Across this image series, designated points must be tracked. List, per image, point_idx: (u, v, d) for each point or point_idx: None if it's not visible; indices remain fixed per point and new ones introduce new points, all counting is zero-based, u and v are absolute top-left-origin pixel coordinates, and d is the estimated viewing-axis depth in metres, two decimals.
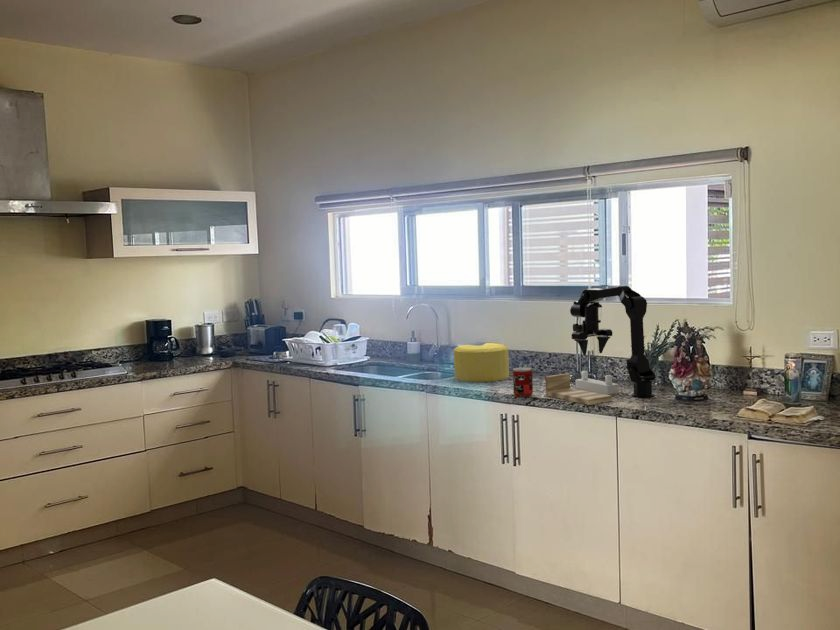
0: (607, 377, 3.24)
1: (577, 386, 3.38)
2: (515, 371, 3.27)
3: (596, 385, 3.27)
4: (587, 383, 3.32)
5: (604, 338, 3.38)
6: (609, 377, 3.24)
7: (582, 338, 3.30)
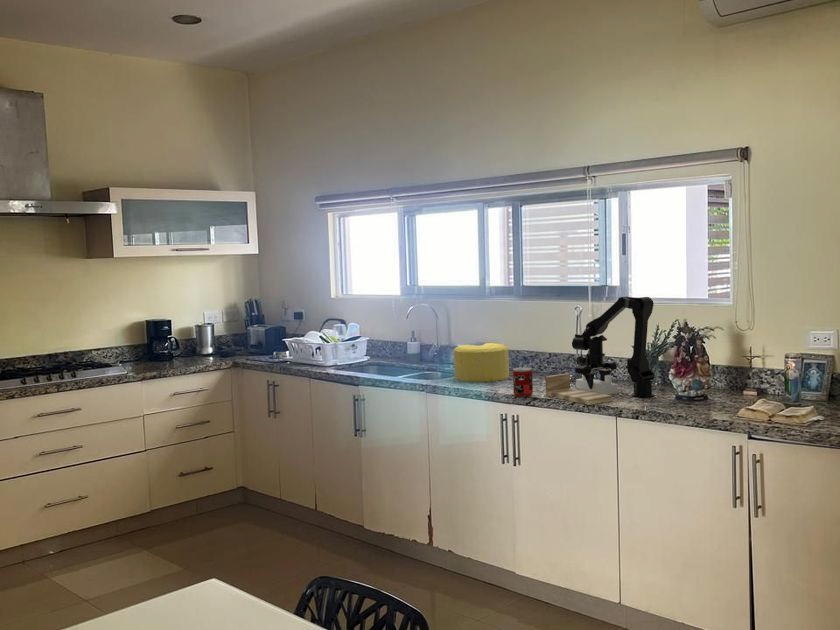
0: (606, 377, 3.24)
1: (577, 386, 3.38)
2: (515, 371, 3.27)
3: (596, 385, 3.27)
4: (587, 383, 3.32)
5: (606, 372, 3.32)
6: (608, 377, 3.24)
7: (586, 372, 3.24)
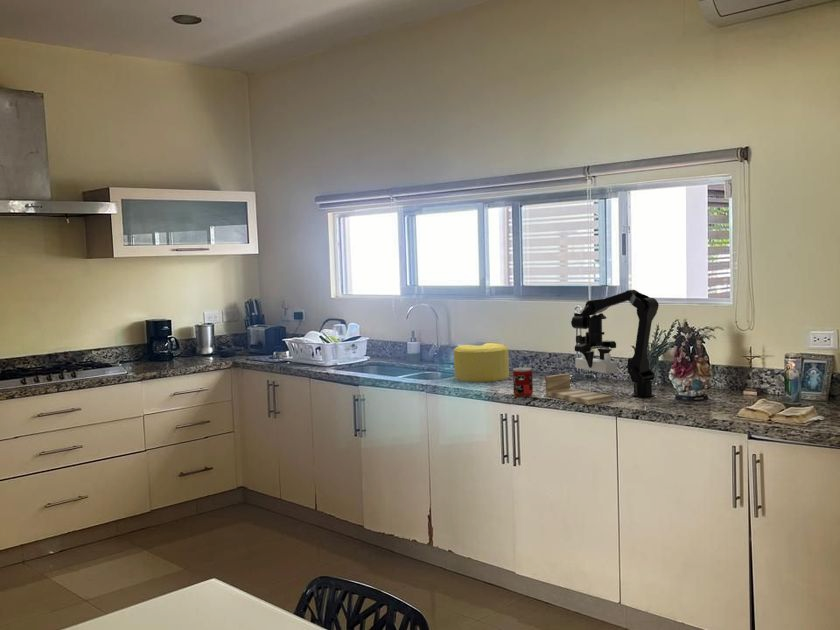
0: (606, 355, 3.23)
1: (577, 365, 3.38)
2: (515, 371, 3.27)
3: (595, 363, 3.27)
4: (586, 361, 3.32)
5: (605, 350, 3.31)
6: (608, 355, 3.23)
7: (585, 350, 3.24)
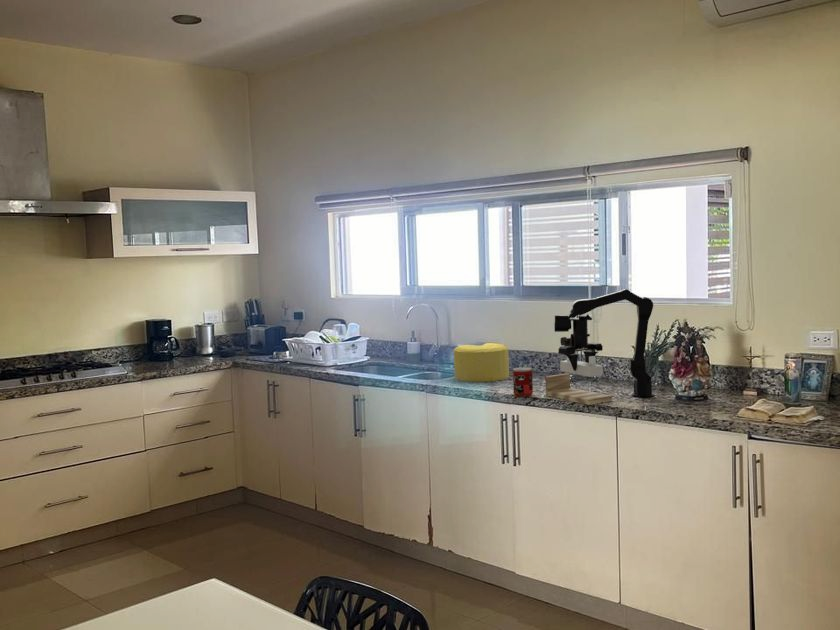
0: (590, 358, 3.10)
1: (562, 368, 3.25)
2: (515, 371, 3.27)
3: (579, 366, 3.14)
4: None
5: (591, 353, 3.18)
6: (592, 358, 3.10)
7: (569, 353, 3.11)
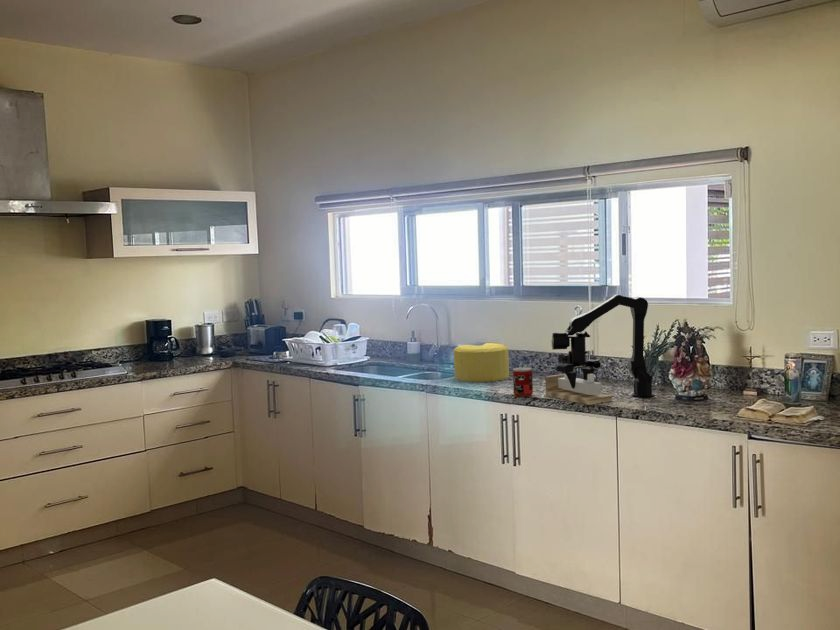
0: (589, 376, 3.08)
1: (559, 385, 3.23)
2: (515, 371, 3.27)
3: (578, 384, 3.12)
4: (569, 382, 3.17)
5: (589, 370, 3.16)
6: (591, 376, 3.08)
7: (568, 371, 3.09)
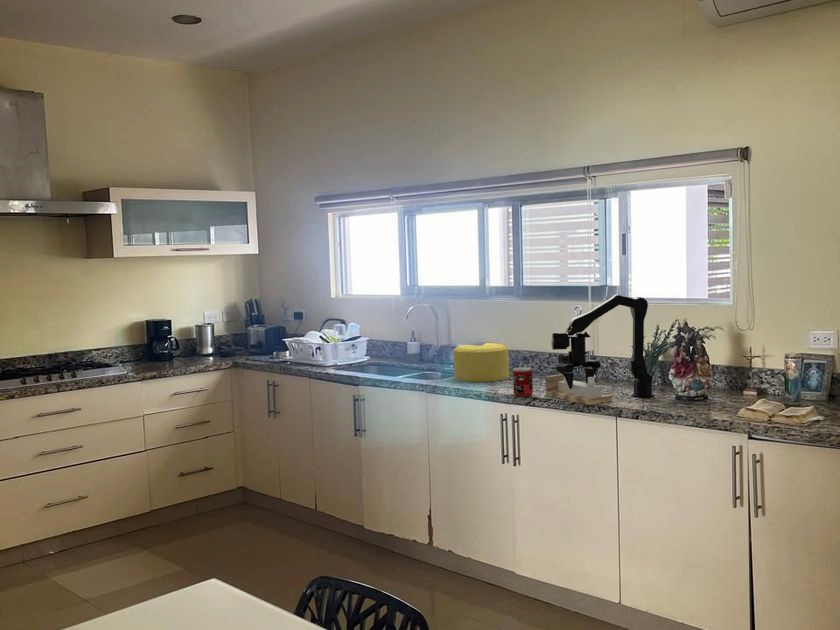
0: (589, 379, 3.08)
1: (559, 388, 3.23)
2: (515, 371, 3.27)
3: (578, 387, 3.12)
4: None
5: (591, 370, 3.16)
6: (591, 379, 3.08)
7: (568, 371, 3.09)
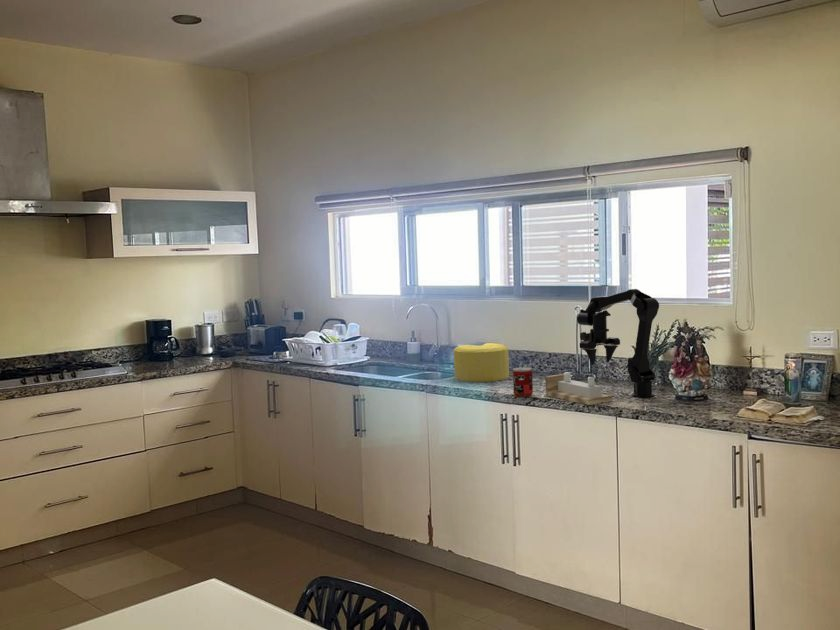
0: (589, 379, 3.08)
1: (559, 388, 3.23)
2: (515, 371, 3.27)
3: (578, 387, 3.12)
4: (569, 385, 3.17)
5: (612, 347, 3.33)
6: (591, 379, 3.08)
7: (591, 347, 3.25)
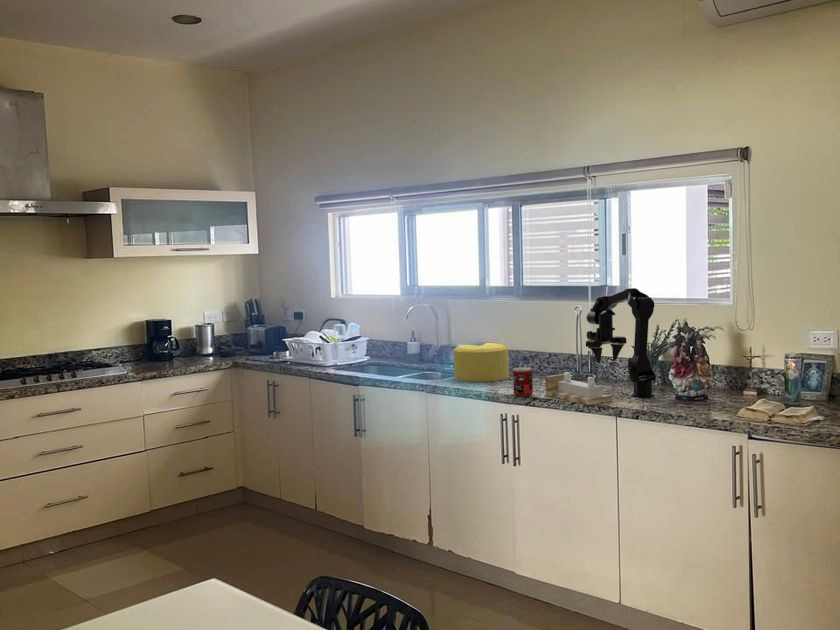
0: (589, 379, 3.08)
1: (559, 388, 3.23)
2: (515, 371, 3.27)
3: (578, 387, 3.12)
4: (569, 385, 3.17)
5: (618, 346, 3.37)
6: (591, 379, 3.08)
7: (596, 346, 3.29)
